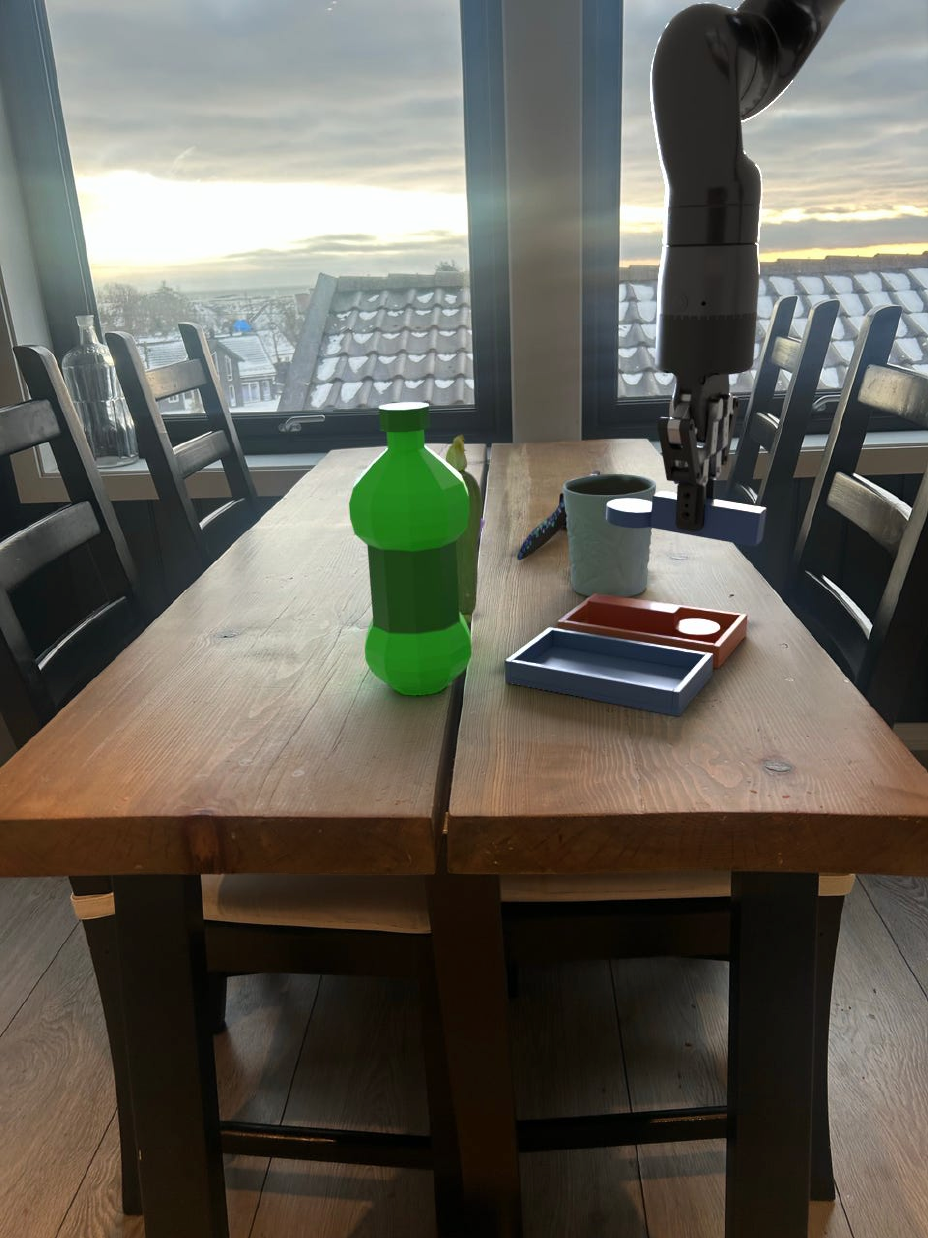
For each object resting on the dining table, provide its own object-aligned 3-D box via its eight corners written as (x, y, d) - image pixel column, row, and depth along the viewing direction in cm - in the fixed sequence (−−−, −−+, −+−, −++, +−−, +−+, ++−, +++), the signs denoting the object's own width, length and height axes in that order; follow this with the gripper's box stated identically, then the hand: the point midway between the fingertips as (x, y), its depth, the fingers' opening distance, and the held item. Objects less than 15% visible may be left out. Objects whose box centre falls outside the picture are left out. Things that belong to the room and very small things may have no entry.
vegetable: (443, 618, 107) (433, 430, 100) (483, 615, 107) (476, 428, 100) (446, 632, 103) (436, 438, 96) (488, 629, 103) (481, 435, 96)
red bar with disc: (582, 630, 100) (582, 604, 99) (599, 616, 104) (599, 591, 103) (711, 651, 94) (713, 623, 93) (725, 635, 97) (727, 608, 96)
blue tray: (712, 676, 90) (713, 653, 89) (678, 716, 82) (679, 692, 82) (549, 648, 98) (549, 627, 97) (505, 683, 90) (504, 660, 90)
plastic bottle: (461, 712, 85) (447, 415, 76) (346, 702, 88) (320, 415, 79) (490, 666, 94) (481, 396, 85) (385, 658, 97) (365, 397, 88)
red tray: (746, 635, 99) (747, 614, 98) (718, 668, 91) (719, 646, 91) (594, 612, 107) (594, 593, 106) (557, 641, 99) (557, 621, 98)
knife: (593, 496, 150) (591, 467, 148) (612, 498, 148) (611, 468, 146) (500, 575, 126) (496, 542, 124) (521, 578, 125) (518, 545, 123)
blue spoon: (766, 536, 83) (771, 504, 81) (751, 551, 79) (756, 517, 78) (617, 510, 89) (620, 479, 88) (597, 522, 85) (599, 490, 84)
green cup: (658, 575, 117) (661, 474, 113) (646, 604, 108) (649, 495, 104) (573, 571, 120) (573, 472, 116) (555, 598, 111) (553, 492, 107)
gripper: (728, 315, 70) (713, 553, 76) (779, 301, 81) (762, 510, 87) (626, 314, 73) (620, 541, 79) (689, 301, 84) (679, 502, 90)
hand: (694, 524), depth 83 cm, fingers closed on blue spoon, 2 cm apart
